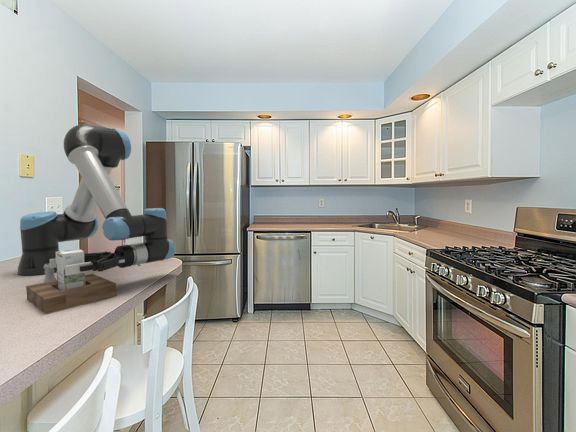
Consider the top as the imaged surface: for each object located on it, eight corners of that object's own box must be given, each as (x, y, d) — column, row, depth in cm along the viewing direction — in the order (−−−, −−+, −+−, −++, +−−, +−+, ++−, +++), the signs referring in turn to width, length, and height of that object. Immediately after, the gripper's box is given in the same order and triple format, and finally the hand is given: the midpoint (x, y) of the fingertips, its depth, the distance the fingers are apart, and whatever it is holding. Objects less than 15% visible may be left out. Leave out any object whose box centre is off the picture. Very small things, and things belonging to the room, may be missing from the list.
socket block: (27, 299, 96) (26, 286, 96) (92, 284, 110) (92, 273, 110) (45, 313, 85) (44, 298, 85) (116, 295, 99) (115, 283, 99)
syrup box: (79, 293, 102) (76, 247, 100) (86, 297, 98) (84, 250, 97) (57, 298, 97) (54, 250, 96) (65, 302, 94) (62, 253, 92)
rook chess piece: (44, 286, 109) (42, 263, 108) (60, 284, 111) (58, 262, 110) (40, 290, 105) (38, 266, 104) (56, 288, 107) (55, 264, 106)
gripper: (149, 271, 103) (73, 287, 87) (114, 260, 119) (45, 272, 103) (148, 248, 103) (72, 260, 86) (113, 240, 118) (43, 249, 102)
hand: (57, 267), depth 94 cm, fingers open, 13 cm apart
